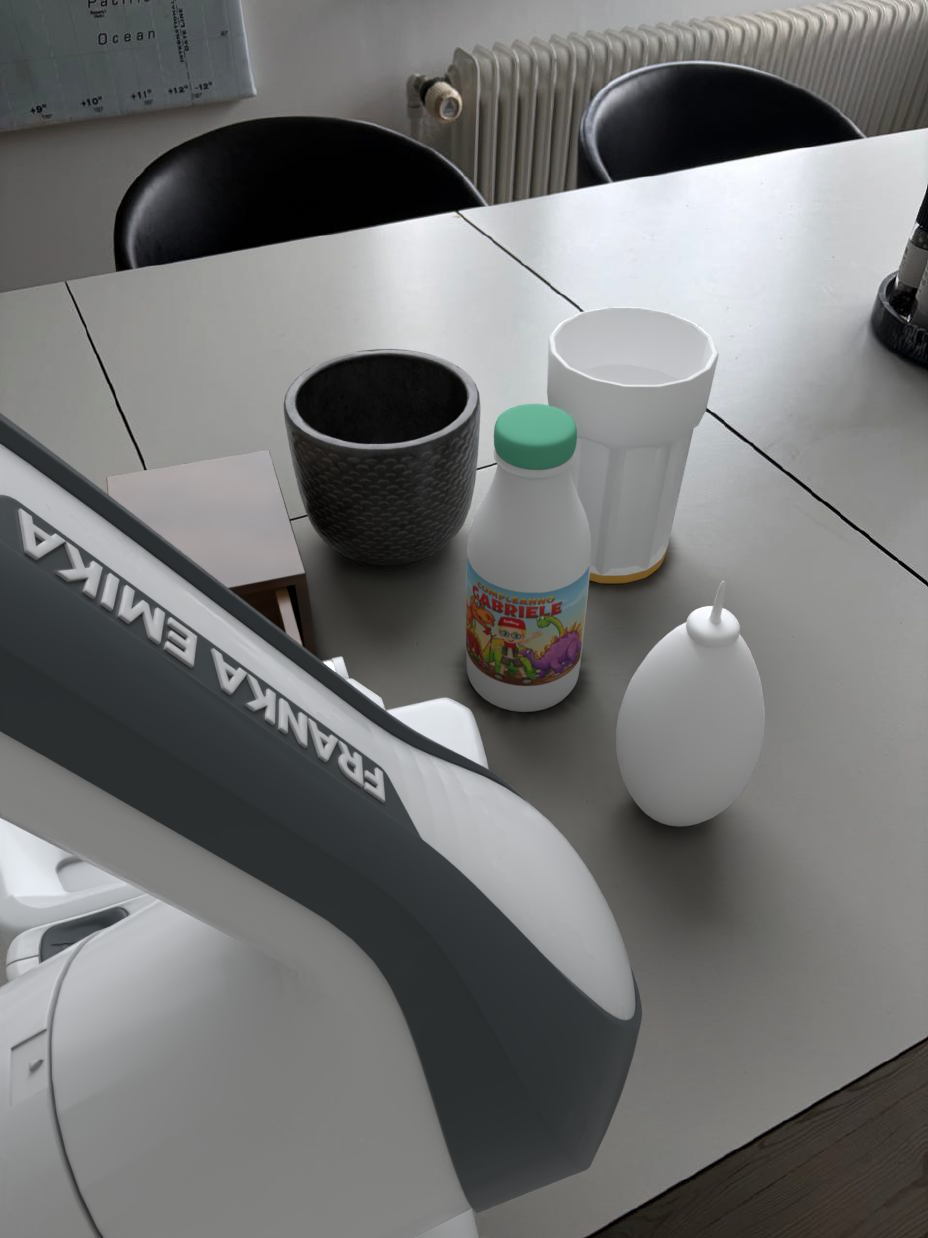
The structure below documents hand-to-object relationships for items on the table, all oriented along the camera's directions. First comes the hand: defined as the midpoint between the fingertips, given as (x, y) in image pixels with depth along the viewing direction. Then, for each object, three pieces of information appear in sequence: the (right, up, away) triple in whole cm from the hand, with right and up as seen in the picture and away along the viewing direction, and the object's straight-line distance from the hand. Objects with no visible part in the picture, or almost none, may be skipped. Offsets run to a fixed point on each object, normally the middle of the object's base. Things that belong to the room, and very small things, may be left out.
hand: (226, 689), depth 46 cm
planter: (+5, +10, +33) cm, 35 cm away
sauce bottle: (+24, -8, +15) cm, 29 cm away
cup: (+22, +9, +33) cm, 41 cm away
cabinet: (-7, +4, +27) cm, 28 cm away
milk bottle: (+15, -1, +23) cm, 27 cm away
